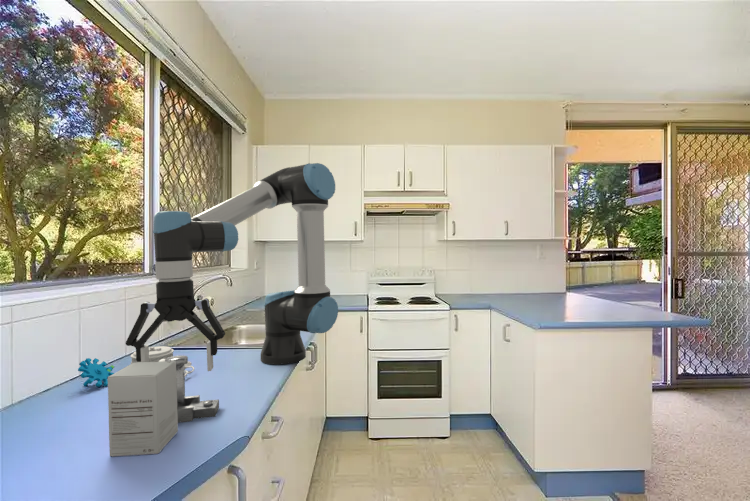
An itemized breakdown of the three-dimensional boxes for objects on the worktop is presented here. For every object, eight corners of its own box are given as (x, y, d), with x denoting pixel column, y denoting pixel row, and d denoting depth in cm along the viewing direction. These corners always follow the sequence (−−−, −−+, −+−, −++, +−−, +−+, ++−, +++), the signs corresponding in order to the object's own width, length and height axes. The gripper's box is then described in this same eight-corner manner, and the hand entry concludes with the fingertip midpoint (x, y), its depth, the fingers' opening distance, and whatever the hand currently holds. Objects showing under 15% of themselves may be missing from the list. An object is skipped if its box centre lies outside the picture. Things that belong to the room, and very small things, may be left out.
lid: (176, 364, 129) (176, 349, 129) (131, 371, 122) (131, 355, 122) (171, 355, 139) (171, 342, 139) (129, 362, 132) (129, 347, 132)
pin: (190, 410, 91) (189, 354, 91) (185, 419, 86) (184, 360, 86) (169, 413, 90) (168, 356, 90) (163, 421, 85) (162, 362, 85)
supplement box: (133, 434, 80) (132, 361, 80) (179, 431, 81) (177, 359, 80) (107, 457, 71) (105, 376, 71) (158, 454, 72) (156, 374, 71)
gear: (95, 386, 103) (74, 359, 105) (79, 402, 103) (58, 374, 105) (126, 378, 114) (106, 353, 116) (112, 392, 114) (92, 367, 116)
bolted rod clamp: (219, 405, 93) (219, 393, 93) (214, 418, 86) (214, 405, 86) (142, 413, 90) (141, 400, 90) (129, 427, 83) (129, 413, 83)
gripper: (235, 275, 94) (238, 362, 95) (120, 280, 89) (124, 372, 89) (230, 278, 87) (234, 372, 87) (105, 284, 81) (109, 384, 82)
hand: (178, 372), depth 88 cm, fingers open, 13 cm apart
